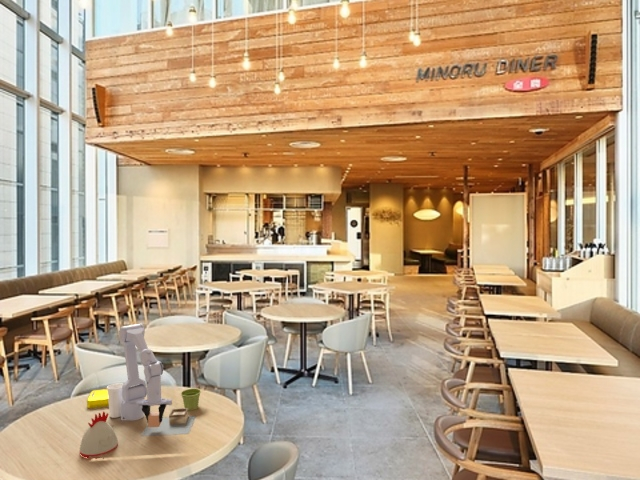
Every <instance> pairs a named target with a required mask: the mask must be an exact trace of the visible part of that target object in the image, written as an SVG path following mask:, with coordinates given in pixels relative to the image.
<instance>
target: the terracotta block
mask: <svg viewBox="0 0 640 480" xmlns="http://www.w3.org/2000/svg"><path fill="white" fill-rule="evenodd" d="M160 424H161V422H159V410H158V411H150V414H149V415H148V423H147V425H148V427H159V426H160Z"/></svg>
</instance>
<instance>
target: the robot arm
mask: <svg viewBox="0 0 640 480" xmlns="http://www.w3.org/2000/svg"><path fill="white" fill-rule="evenodd" d="M145 334H146V332H145V326H144V324H143V323H141V322H140V323H139V322H138V323H137V324H130V325H123V326H120V328H119V330H118V336H119V343H120V345H123V348H124V358H125V364H126V365H125V366H126V375H127V380H126V381H125V382H124V383H123V384H124V385H123V386H122V398H123V400H124V401H123V402H122V404H121V416H120V421H137V420H141V419H142V418H144V416H145V419H146V423H147V424H148V415H149V414H150V412H151V407H155V406H158V411H159V422H162V418H163V417H164V412H165V410H166V407H167V406H172V404H173V399H172V398H171V399H169V398H162V380H161V379H162V378H161V377H162V375H163V373H164V365H163V364H162V362H161V361H159V359H157V358H156V356H155V354H154V352H153V350H152V349H149V348H148V345H147V342H146V339H145ZM137 350H138V352H139V356H138V357H137ZM138 358H139V360H140V361H141V362H140V363H141V364H142V366H143V374H144V379H145V380H144V379H142V378H141V377H140V373H139V365H138ZM145 398H146V399H145Z"/></svg>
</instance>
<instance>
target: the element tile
mask: <svg viewBox="0 0 640 480" xmlns="http://www.w3.org/2000/svg"><path fill="white" fill-rule="evenodd" d="M96 407H97V408H96ZM106 407H109V401H108V391H107V388H103V389H94V390H92V391H90V393H89V395H88V397H87V399H86V408H87V409H98V408H106Z"/></svg>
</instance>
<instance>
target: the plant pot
mask: <svg viewBox="0 0 640 480" xmlns="http://www.w3.org/2000/svg"><path fill="white" fill-rule="evenodd" d="M201 393H202V390H201V389H199V388H187V389H185V390H183V391H181V392H180V396H181V398H182V400H183V406H184V407H183V408H188V411H194V410H197V409H198V408H199V401H200V395H201Z"/></svg>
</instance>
